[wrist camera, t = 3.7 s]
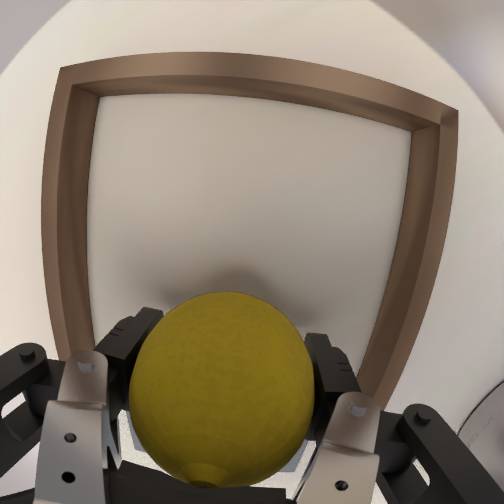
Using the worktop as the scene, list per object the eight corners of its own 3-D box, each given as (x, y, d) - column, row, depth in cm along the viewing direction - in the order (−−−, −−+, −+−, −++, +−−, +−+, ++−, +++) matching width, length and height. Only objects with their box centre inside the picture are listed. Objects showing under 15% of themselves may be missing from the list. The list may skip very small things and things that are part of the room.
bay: (429, 118, 11) (458, 110, 8) (367, 388, 15) (380, 417, 12) (87, 80, 11) (60, 67, 8) (82, 349, 14) (62, 371, 12)
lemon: (293, 376, 13) (311, 528, 5) (178, 369, 13) (122, 507, 5) (305, 265, 11) (369, 410, 4) (169, 260, 12) (47, 376, 4)
